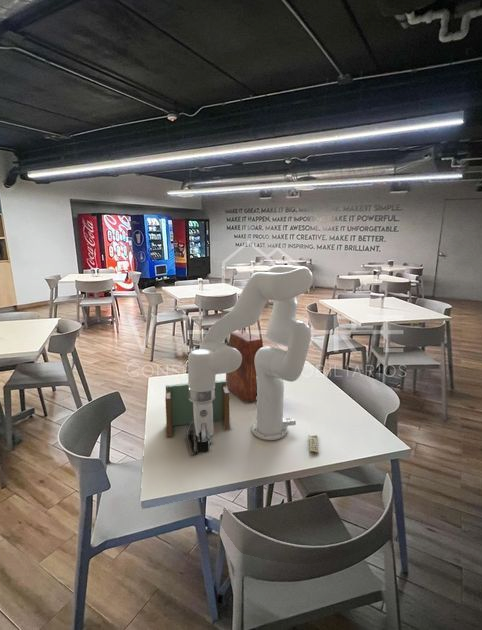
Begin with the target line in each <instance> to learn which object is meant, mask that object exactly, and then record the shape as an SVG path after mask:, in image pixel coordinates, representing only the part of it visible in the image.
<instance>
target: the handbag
mask: <svg viewBox="0 0 482 630" xmlns="http://www.w3.org/2000/svg"><path fill="white" fill-rule="evenodd" d="M247 328H248V332H247V331H244V328H242V329H241V331H234V332H232V333H231V334H230V335H229V339H228V343H227V346H230V347H233V348H235V349H237V350H238V351H239V352H240V353H241V356H242V363H241V365H240V367H239V368H238V369H237V370H235V371H233V372H230V373H225V380H226V385H227V388H228V390H229V391H230V392H231V393H233V394H234V395H235V396H236V397H237V398H239V399H240V400H241V401H242V402H243V403H251V402H255V401H257V400H256V376H257V374H256V369H255V362H254V360H255V355H256V352H257V351H258V350H259V349H260V348H262V347H264V344H263V340H262V338H259V337H257V336H254V335H253V334H251V326H248V327H247Z"/></svg>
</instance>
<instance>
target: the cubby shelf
mask: <svg viewBox="0 0 482 630" xmlns="http://www.w3.org/2000/svg"><path fill="white" fill-rule="evenodd" d="M164 399H165V401H164V402H165V421H166V437H167V438H171V437H173V427H177V426H186V425H190V424H191V422H192V419H193V423H194V414H193V402H191V401H190V400H189V387H188V382H187V383H176V384H165V396H164ZM230 406H231V405H230V390H229V389H228V388H227V385H226V379H224V380H223V379H222V380H221V379H220V380H215V399H214V400H213V401H212V407H213V422H219V421H220V422H221V421H222V424H223V427H224V430H225V431H230V429H231V428H230V426H231V425H230V424H231V423H230V421H231V420H230V419H231V418H230V416H231V414H230V408H231V407H230Z"/></svg>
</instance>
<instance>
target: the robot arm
mask: <svg viewBox="0 0 482 630" xmlns="http://www.w3.org/2000/svg"><path fill="white" fill-rule="evenodd" d="M313 282H314V275H313V272H312V271H311V270H310V268H308V267H306V266H302V265H301V266H300V265H287V264H275V265H272V266H270V267H269V268H268V269H267V271H257V272H254V273H253V274H251V276H249V278H248V280H247V282H246V283H245V285H244V286H243V287H244V288H243V289H242V291H241V293H240V295H239V296H238V298H237V300H236V302H235V304H234V305H233V307H232V309H231V310H230V311H229V312H227V313H225V314H224V315H223V316H221V318H219V319H217V320H216V322H215V323H213V324H212V325H211V326H210V328H209V329H208V331H207V332H206V334H205V336H204V337H203V339H202V341H201V343H200V346H199V349H193V350H191V351H190V352H189V354H188V356H187V375H188V376H187V378H188V379H187V380H188V381H187V383H188V387H189V400H190V401H191V402H193V414H194V424H195V430H196V435H197V436H198V438H197V451H196V453H197V454H201V453H208V452H209V449H208V433H209V435H210V436H213V435H214V421H213V407H212V401H213V400H214V399H215V381H216V375H222V374H226V373H230V372H233V371H235V370H237V369H238V368H239V367H240V365H241V363H242V356H241V353H240V352H239V351H238V350H237V349H235V348H233V347H230V346H228V345H226V344H224V342H225V340H226V339H227V338H228V337H230V334H231V333H234V332H237V331H239V330H242V328H243V329H244V328H245V329H246V328H249V327H248V326H250V327H251V326H253V325H255V324H257V322H258V321H259V319H260V317H261V315H262V313H263V311H264V309H265V307H266V305H267V303H268V301H273V304H272V308H271V313H270V317H269V319H268V324H267V328H266V338H267V340H268V341H269V342H271V343H274V344H276V345H280V346H283V347H287V350H285V349H283V348H278V347H275V346H270V345H265V346H263V347H262V348H260V349H259V350H258V351H257V352H256V355H255V360H254V362H255V369H256V374H257V400H256V421H255V422H254V423H253V425H252V427H251V431H252V434H253V436H255V437H256V438H258V439H260V440H265V441H276V440H280V439H282V438H284V437H285V436H286V435H287V433H288V427H289V426H296V425H297V422H296V419H291V418H290V417H284V399H285V398H284V395H285V394H284V393H285V383H284V381H287V382H290V383H291V382H296V381H297V380H299V378H300V377H301V375H302V372H303V370H304V367H305V364H306V360H307V356H308V351H309V348H310V344H311V340H312V339H311V337H312V331H311V327H310V326H309V324H308V323H306V322H305V321H303V320H298V319H296V316H297V312H298V299H297V297H298V296H301V295H304V293H305V294H306V293H307V292H308V291H309V290H310V289H311V287H312V285H313Z"/></svg>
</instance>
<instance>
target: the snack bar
mask: <svg viewBox="0 0 482 630" xmlns="http://www.w3.org/2000/svg"><path fill="white" fill-rule="evenodd" d="M308 438H309V439H308V441H309V452H313V453H315V454H319V452H320V451H319V448H318V447H319V446H318V435H316V434H315V435H310V434H308Z"/></svg>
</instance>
